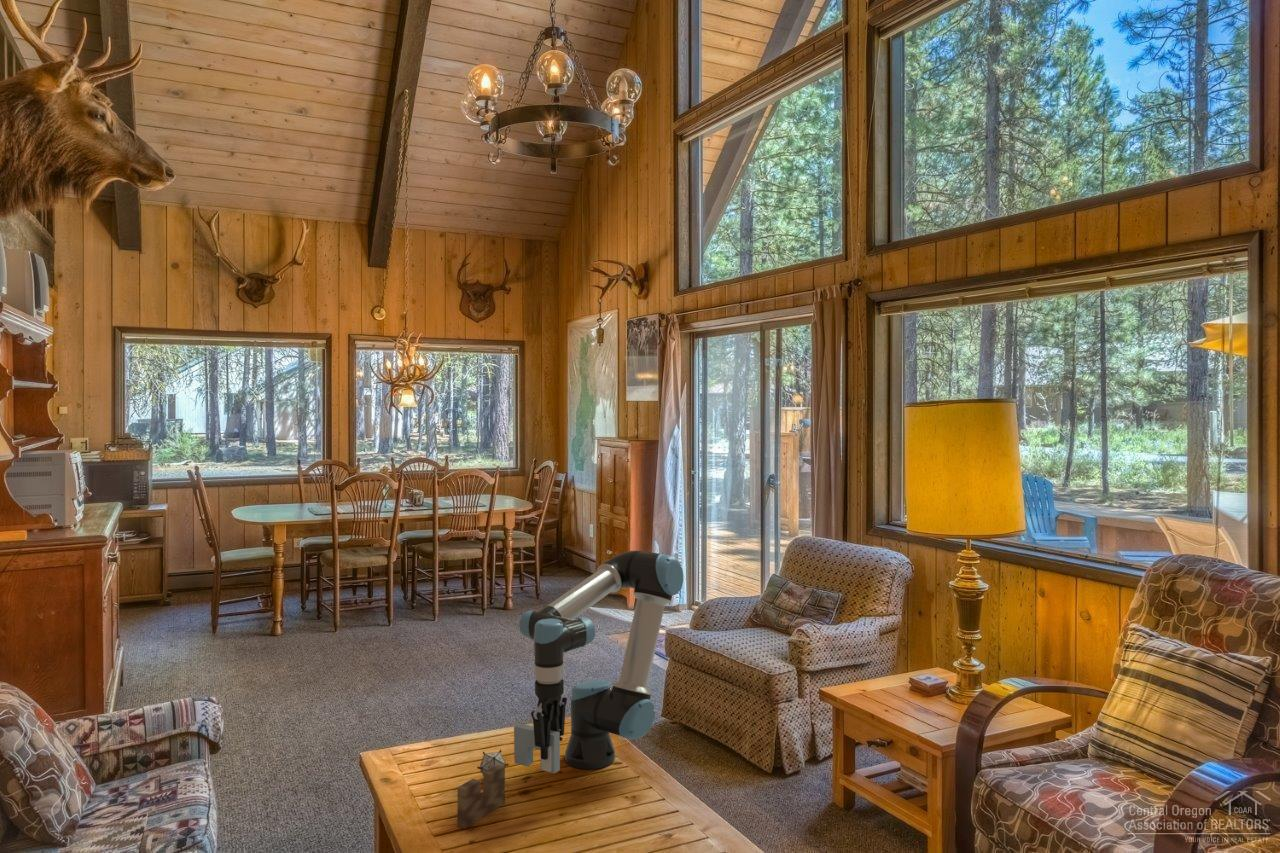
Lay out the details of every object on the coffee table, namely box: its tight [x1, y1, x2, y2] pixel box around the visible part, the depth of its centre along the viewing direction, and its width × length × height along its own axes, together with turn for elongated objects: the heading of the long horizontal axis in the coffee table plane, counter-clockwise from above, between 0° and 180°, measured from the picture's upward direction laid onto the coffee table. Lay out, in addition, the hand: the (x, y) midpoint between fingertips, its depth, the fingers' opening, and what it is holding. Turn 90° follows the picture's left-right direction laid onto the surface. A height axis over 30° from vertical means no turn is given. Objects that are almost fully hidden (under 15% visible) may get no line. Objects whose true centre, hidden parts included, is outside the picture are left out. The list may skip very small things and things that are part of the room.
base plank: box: [456, 764, 506, 830], centre depth 220 cm, size 16×2×10 cm, turn 151°
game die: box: [476, 749, 510, 776], centre depth 240 cm, size 9×8×10 cm
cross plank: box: [513, 722, 561, 774], centre depth 224 cm, size 2×13×10 cm, turn 61°
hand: (550, 767), depth 222 cm, fingers closed on cross plank, 2 cm apart
